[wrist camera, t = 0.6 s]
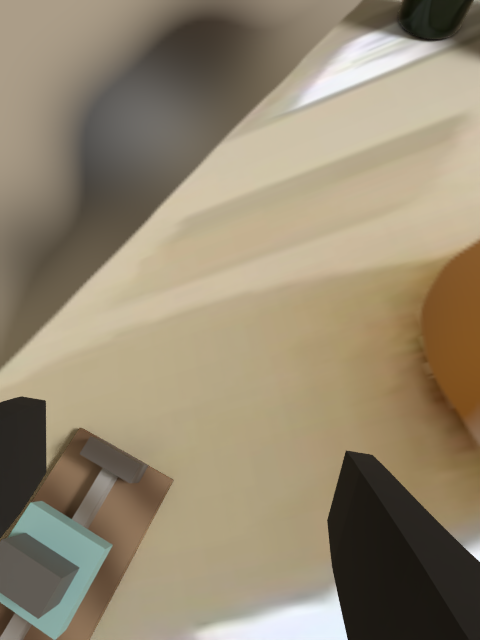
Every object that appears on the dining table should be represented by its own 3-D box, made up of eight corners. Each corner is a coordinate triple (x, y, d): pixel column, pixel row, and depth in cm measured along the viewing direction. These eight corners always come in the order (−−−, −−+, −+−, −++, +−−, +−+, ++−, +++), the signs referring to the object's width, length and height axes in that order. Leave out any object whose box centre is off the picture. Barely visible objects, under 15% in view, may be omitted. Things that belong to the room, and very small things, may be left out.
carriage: (66, 630, 27) (32, 660, 22) (-9, 578, 28) (-55, 598, 23) (112, 545, 29) (90, 557, 24) (41, 500, 30) (8, 505, 26)
